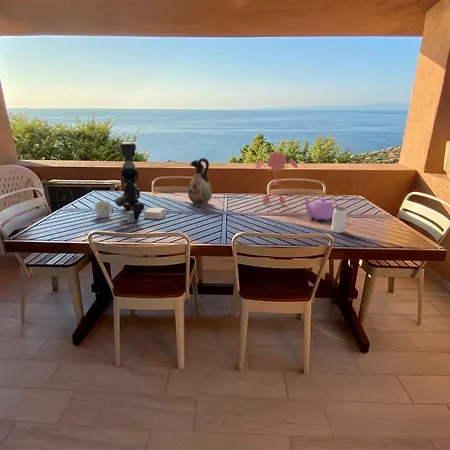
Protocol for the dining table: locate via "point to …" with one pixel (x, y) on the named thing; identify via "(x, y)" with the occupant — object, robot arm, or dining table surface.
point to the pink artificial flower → (275, 163)
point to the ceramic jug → (200, 184)
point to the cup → (103, 209)
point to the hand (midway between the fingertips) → (132, 218)
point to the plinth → (154, 213)
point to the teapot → (321, 209)
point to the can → (339, 220)
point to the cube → (130, 216)
